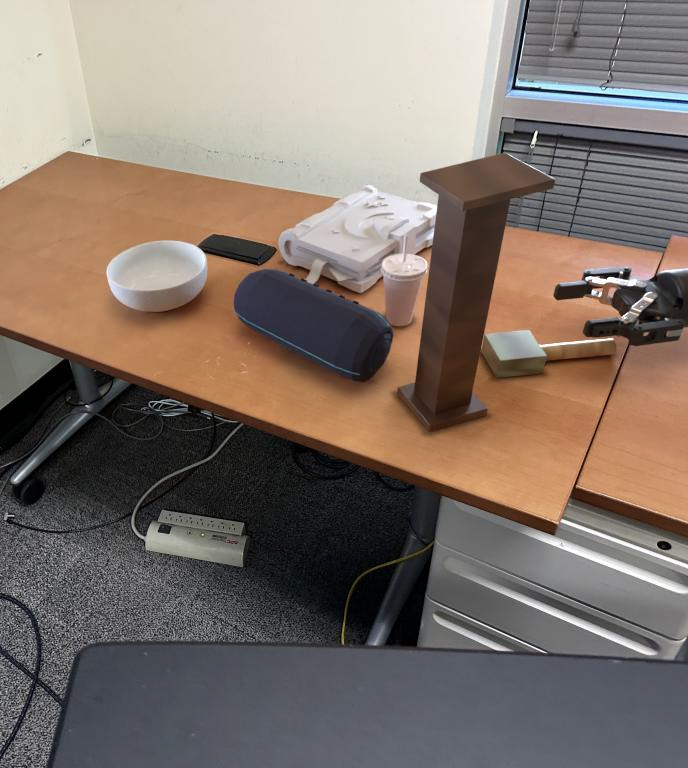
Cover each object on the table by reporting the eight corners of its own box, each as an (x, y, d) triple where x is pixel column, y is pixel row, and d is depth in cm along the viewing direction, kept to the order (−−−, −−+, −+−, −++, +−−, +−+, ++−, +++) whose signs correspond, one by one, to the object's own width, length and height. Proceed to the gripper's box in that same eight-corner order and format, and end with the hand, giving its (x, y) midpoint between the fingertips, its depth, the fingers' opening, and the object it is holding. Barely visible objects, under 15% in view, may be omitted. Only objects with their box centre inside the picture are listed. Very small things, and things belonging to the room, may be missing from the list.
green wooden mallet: (598, 339, 95) (604, 322, 93) (620, 366, 91) (627, 348, 89) (480, 351, 96) (484, 333, 95) (496, 378, 92) (500, 360, 90)
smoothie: (417, 306, 107) (426, 224, 98) (424, 330, 102) (435, 246, 93) (374, 308, 108) (380, 227, 99) (379, 332, 103) (386, 249, 94)
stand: (464, 374, 93) (505, 152, 74) (500, 411, 87) (555, 179, 67) (396, 393, 92) (420, 172, 72) (429, 432, 86) (464, 202, 66)
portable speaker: (404, 368, 96) (410, 308, 89) (358, 403, 91) (362, 343, 85) (272, 305, 112) (270, 251, 105) (228, 333, 107) (223, 278, 101)
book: (257, 272, 120) (255, 233, 115) (358, 212, 132) (360, 174, 128) (345, 311, 108) (347, 269, 103) (448, 241, 120) (453, 200, 115)
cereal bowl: (230, 290, 117) (227, 254, 112) (163, 339, 108) (157, 302, 104) (160, 264, 127) (154, 230, 122) (93, 307, 118) (85, 271, 114)
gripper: (724, 353, 84) (587, 366, 85) (661, 291, 95) (540, 304, 96) (749, 302, 79) (604, 317, 81) (679, 243, 90) (552, 257, 92)
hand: (569, 310), depth 88 cm, fingers open, 8 cm apart
